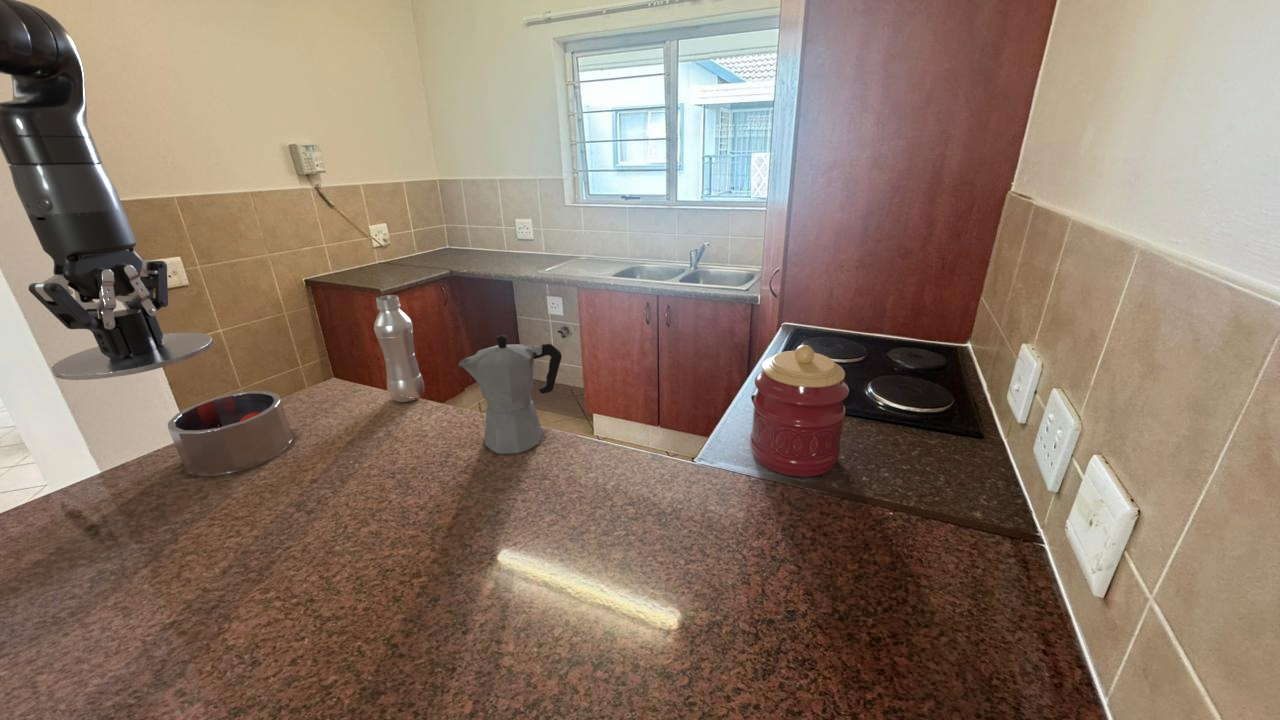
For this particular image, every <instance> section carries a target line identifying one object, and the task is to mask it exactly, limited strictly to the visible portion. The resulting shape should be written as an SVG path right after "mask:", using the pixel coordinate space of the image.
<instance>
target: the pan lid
mask: <svg viewBox="0 0 1280 720" xmlns="http://www.w3.org/2000/svg"><path fill="white" fill-rule="evenodd" d="M113 312H114V318H115V327H114V328H119V330H120V332H121V334H122V337H123V339H124V341H125V344H126V346H127V348H128V351H129V353H130V356H129V357H126V358H123V359H110V358H109V357H108V356H105V355H104V354H103V353H102V352H101V350H100V348H99V346H98V345H97V346H95V347H91V348H88V349H85V350H82V351H79V352H76V353H74V354H71V355H68V356H66V357H64V358H63V359H61V360H58V361H56V363H55V364H53V365H52V367H51V369H50V371H51V372H52V374H53V376H54V377H56V378H57V379H61V380H67V381H68V380H69V381H89V380H100V379H108V378H116V377H123V376H130V375H135V374H140V373H145V372H150V371H154V370H157V369H162V368H165V367H168V366H171V365H173V364H177V363H181V362H183V361H186V360H189V359H191V358H194V357H196V356H198V355H201V354H203V353H204V352H207V351H208V350H209V349H210V348H212V347H213V345H214V341H213V337H212V336H211V335H209V334H207V333H203V332H202V333H201V332H192V331H191V332H190V331H189V332H169V333H162V334H163V339H162V341H163V343H162V344H160V345H158V346H156V345H155V342H154V340H153V337H152V335H151V332H150V330H149V328H148V325H147V323H146V320H145V318H144V315H143V313H142V310H141V309H126V308H125V309H119V310H113Z"/></svg>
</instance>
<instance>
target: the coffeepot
mask: <svg viewBox="0 0 1280 720" xmlns="http://www.w3.org/2000/svg"><path fill="white" fill-rule="evenodd" d="M495 340H496V343H497V345H494V346H490V347H487V348H483V349H479V350H478V351H476V353H475V354H473V355H471V356H468V357H465V358H464V359H460V361H459V362H458V367H460V368H463V369H464V370H465V371H466V372H467V373H468V374H469V375H470V376H471V377H472V378H473V379H474V380H475V381H476V383H478V385H479V388H480V391H481V394H482V397H483V398H484V399H485V400H486V402H487V406H486V410H485V411H486V413H485V434H484V435H485V436H484V445H485V446H486V447H487V448H488V449H489V450H491V451H493V452H494V453H496V454H499V455H500V454H503V455H506V454H507V455H508V454H509V455H511V454H520V453H523V452H526V451H528V450H530V449H532V448H534V447H536V446H538V445H539V444H540V442H541V440H542V437H543V433H544V432H543V429H542V425H541V422H540V419H539V415H538V412H537V409H536V405H535V402H534V401H533V400H532V396H531V393H532V391H533V387H534V369H535V368H534V367H535V366H534V365H535V360H536V359H540V358H544V357H546V356H549V357H550V359H549V361H548V362H549V363H548V372H547V374H546V378H545V379H546V385H545V386H543V387H540V388H538V391H539V393H540V394H541V395H542V394H548V393H551V392H552V391H553V390H554V387H555V383H556V379H557V376H558V373H559V368H560V364H561V361H562V358H563V357H562V352H561V351H560V349H558V348H557V347H556V346H555V345H553V344H552V343H544V344H535V345H530V346H527V345H525V344H522V343H521V344H519V343H517V344H507V342H508V336H507V335H505V334H504V335H503V334H502V335H501V334H500V335H497V336H496V337H495ZM540 427H541V428H540Z"/></svg>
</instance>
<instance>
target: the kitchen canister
mask: <svg viewBox="0 0 1280 720" xmlns="http://www.w3.org/2000/svg"><path fill="white" fill-rule="evenodd" d="M761 370H762V371H760V372H759V373H757V375H756V376H755V377H754V385H755V388H756V389H757V392H756V394H755V395H754V397H753V400H752V402H753V403H752V404H753V413H752V414H753V415H752V426H751V427H752V428H751V432H750V439H749V443H750V449H751V453H752V456H753V457H754V458H755V460H756V461H757V462H758V463H759V464H761V465H762V466H764V467H765V468H766V469H768V470H771V471H772V472H773V471H774V472H776V473H779V474H782V475H786V476H791V477H801V478H804V477H805V478H807V477H808V478H809V477H816V476H821V475H824V474H826V473H828V472H830V471H831V470H832V469H834V467H835V466H836V464H837V462H838V461H837V460H838V459H839V457H840V452H841V438H842V430H843V425H844V424H843V423H844V419H845V416H846V413H847V412H846V406H845V405H844V400H845V399H847V397H848V396H849V394H850V388H849V385H848V384H847V383H846V381H845V380H844V379H845V377H846V372H845V370H844V368H843V367H842V366H841V365H840V364H838V363H836V362H835V361H834V360H833V359H832V358H831V357H828V356H826V355H824V354H821V353H818V352H815V351H814V349H813V348H812V347H811V346H810V345H807V344H801V345H799V346H798V347H797V348H796V349H795V350H787V351H782V352H778V353H777V354H775V355H773V356H770V357H769V358H766V359H765V360H764V361H763V362H762V364H761Z"/></svg>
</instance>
